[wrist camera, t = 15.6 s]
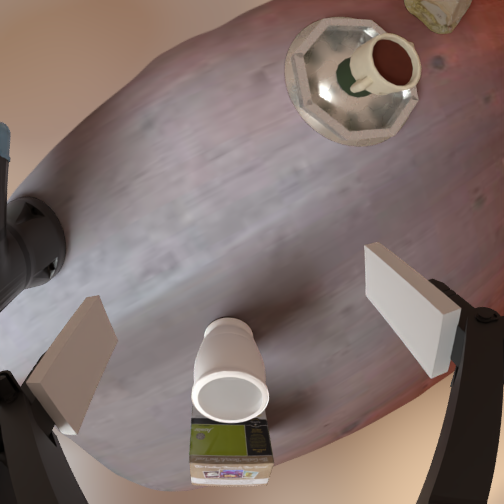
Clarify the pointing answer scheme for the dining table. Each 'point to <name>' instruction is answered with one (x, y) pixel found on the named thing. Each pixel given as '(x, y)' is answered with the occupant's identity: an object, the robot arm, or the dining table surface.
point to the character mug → (380, 67)
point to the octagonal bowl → (330, 92)
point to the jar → (229, 373)
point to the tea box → (230, 451)
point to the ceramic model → (438, 13)
